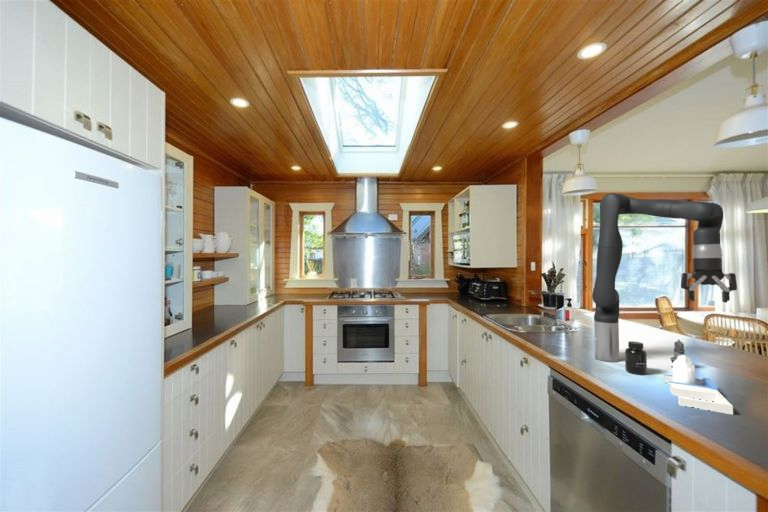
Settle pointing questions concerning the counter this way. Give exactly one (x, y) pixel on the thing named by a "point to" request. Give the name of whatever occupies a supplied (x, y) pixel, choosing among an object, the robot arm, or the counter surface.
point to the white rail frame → (699, 395)
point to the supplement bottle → (635, 358)
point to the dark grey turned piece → (677, 350)
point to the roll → (683, 370)
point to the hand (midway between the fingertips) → (708, 301)
